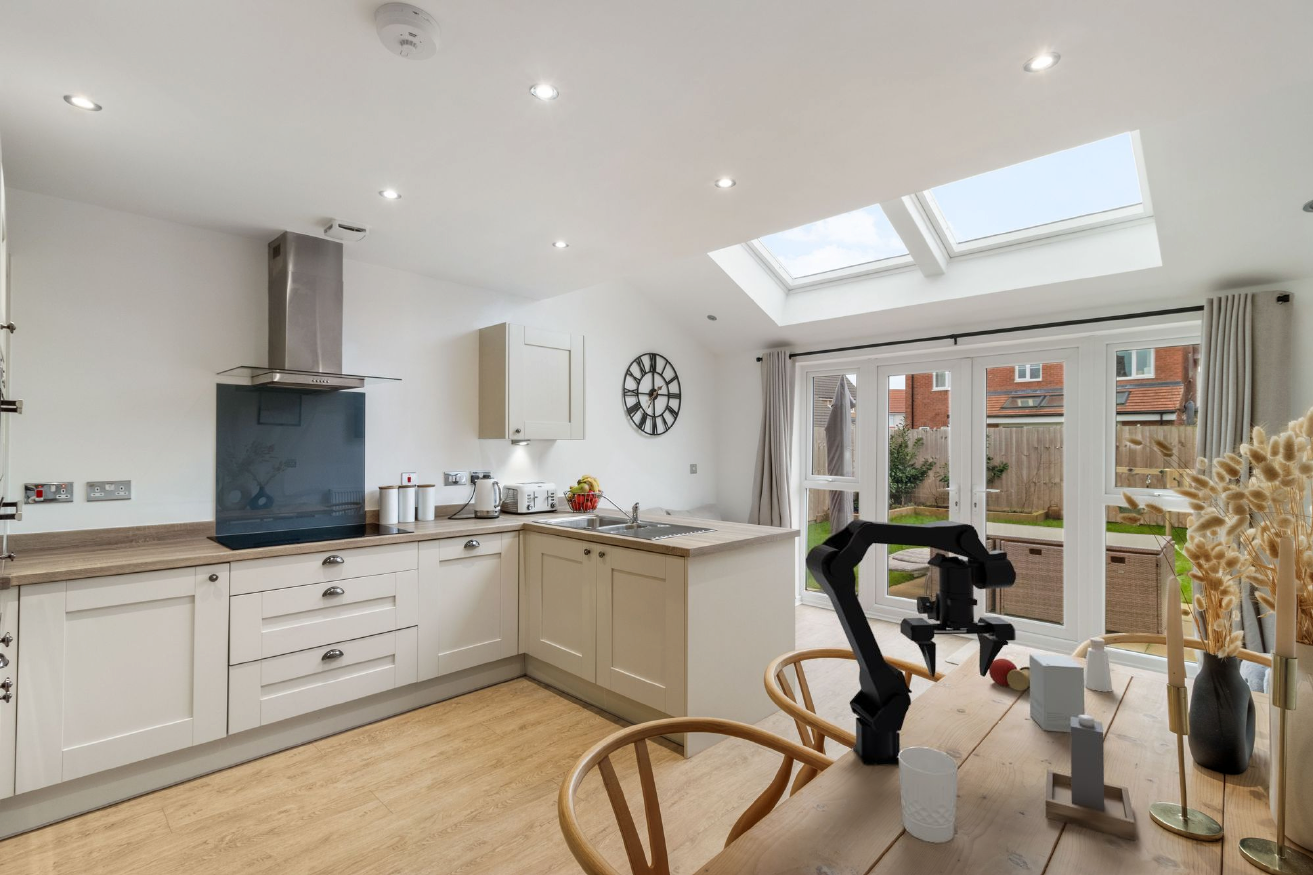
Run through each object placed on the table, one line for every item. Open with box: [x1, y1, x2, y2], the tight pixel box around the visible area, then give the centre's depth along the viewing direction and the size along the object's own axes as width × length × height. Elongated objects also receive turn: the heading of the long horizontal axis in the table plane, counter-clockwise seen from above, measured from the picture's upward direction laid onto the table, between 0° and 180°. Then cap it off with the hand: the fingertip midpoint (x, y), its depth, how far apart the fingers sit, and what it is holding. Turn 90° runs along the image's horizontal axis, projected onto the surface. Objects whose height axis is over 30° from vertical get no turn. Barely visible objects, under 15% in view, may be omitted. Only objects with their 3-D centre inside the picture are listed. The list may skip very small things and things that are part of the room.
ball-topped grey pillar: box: [1070, 714, 1105, 812], centre depth 96 cm, size 4×4×13 cm
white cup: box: [897, 746, 959, 844], centre depth 92 cm, size 8×8×10 cm
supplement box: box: [1028, 653, 1086, 733], centre depth 125 cm, size 7×7×13 cm
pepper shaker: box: [1084, 637, 1113, 693], centre depth 143 cm, size 5×5×11 cm
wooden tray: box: [1045, 768, 1136, 841], centre depth 96 cm, size 11×11×2 cm
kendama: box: [988, 658, 1030, 692], centre depth 141 cm, size 8×6×18 cm
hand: (957, 676), depth 116 cm, fingers open, 9 cm apart
